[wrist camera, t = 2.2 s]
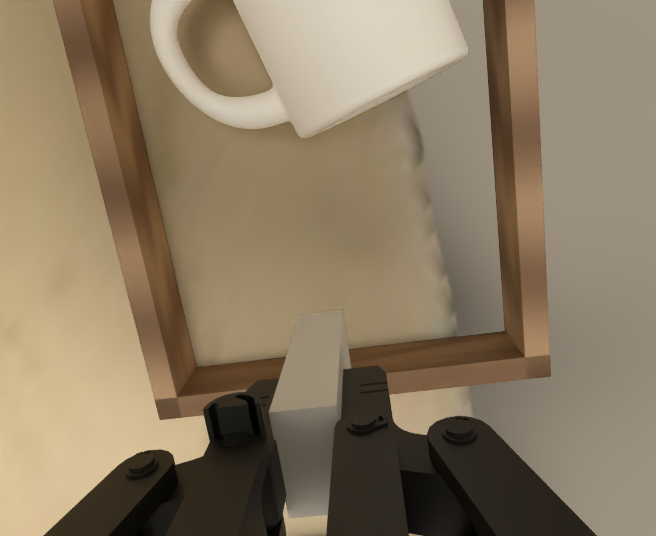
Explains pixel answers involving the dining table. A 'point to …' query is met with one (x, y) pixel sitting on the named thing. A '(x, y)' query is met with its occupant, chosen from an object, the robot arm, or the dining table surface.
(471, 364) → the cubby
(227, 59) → the dining table surface
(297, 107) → the mug
